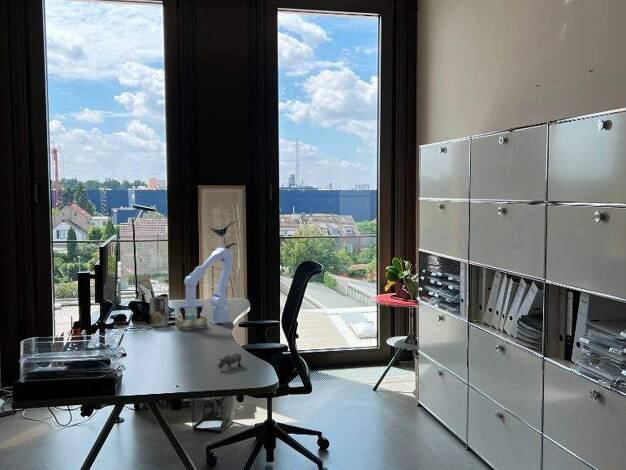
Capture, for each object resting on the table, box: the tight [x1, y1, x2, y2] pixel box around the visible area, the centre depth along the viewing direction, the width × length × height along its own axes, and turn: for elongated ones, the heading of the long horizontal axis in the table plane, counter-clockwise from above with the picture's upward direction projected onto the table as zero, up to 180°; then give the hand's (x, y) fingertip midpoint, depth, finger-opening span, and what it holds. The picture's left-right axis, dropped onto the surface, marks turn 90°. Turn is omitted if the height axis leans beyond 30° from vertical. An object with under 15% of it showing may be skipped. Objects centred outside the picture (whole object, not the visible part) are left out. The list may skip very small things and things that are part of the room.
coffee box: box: [149, 296, 170, 327], centre depth 335 cm, size 9×6×16 cm
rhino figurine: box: [216, 352, 243, 370], centre depth 254 cm, size 4×14×6 cm, turn 137°
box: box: [174, 313, 208, 332], centre depth 332 cm, size 15×15×6 cm
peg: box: [187, 313, 195, 320], centre depth 332 cm, size 4×4×7 cm
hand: (191, 320), depth 332 cm, fingers open, 7 cm apart
